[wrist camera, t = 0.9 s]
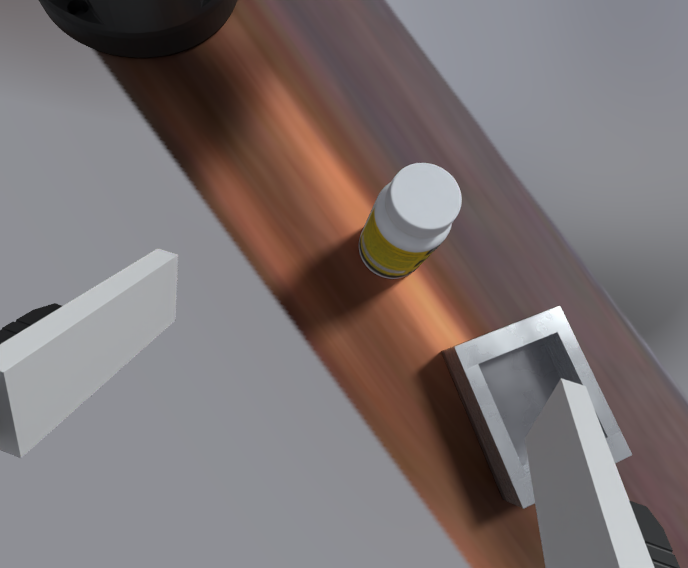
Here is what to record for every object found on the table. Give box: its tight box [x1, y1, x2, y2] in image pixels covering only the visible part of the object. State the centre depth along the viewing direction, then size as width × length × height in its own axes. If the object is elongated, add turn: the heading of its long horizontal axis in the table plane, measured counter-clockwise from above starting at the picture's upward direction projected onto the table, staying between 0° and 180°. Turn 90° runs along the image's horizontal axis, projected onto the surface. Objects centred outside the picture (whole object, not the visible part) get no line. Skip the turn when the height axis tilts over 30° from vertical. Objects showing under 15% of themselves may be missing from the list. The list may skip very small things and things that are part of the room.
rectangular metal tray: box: [441, 306, 632, 509], centre depth 29 cm, size 10×8×2 cm
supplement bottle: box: [359, 163, 461, 279], centre depth 28 cm, size 5×5×8 cm
